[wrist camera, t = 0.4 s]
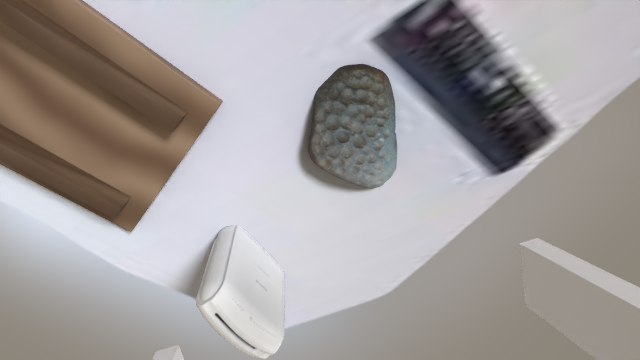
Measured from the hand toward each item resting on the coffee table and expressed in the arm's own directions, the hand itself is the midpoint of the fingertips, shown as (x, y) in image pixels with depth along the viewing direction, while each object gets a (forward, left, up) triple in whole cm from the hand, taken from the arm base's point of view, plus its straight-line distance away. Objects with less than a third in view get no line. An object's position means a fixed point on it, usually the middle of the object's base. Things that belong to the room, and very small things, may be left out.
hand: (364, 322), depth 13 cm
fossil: (-2, +4, -27) cm, 27 cm away
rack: (+13, -19, -26) cm, 35 cm away
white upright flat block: (+18, +4, -27) cm, 32 cm away
